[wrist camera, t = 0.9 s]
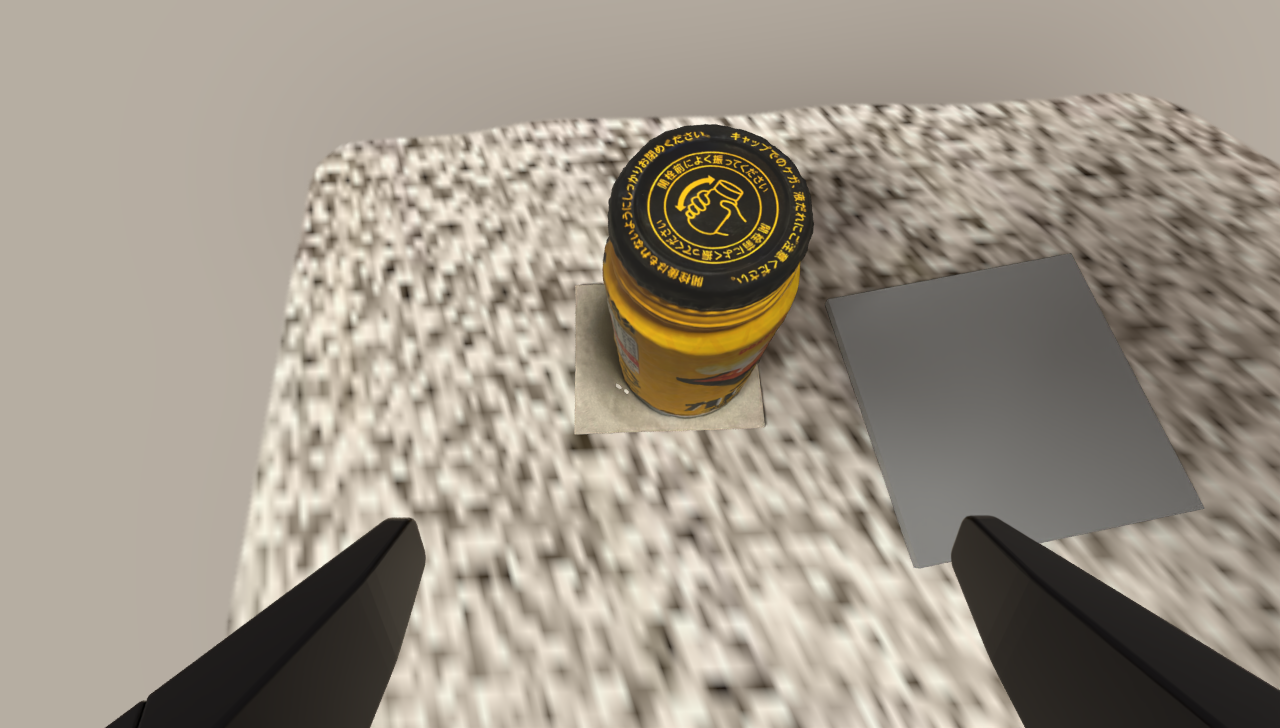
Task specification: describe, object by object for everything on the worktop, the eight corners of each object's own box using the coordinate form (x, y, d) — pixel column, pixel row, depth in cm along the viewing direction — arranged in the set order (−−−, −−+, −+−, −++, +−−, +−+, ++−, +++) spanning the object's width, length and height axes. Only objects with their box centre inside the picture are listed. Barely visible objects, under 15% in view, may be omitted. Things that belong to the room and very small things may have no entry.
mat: (1192, 509, 21) (1204, 508, 21) (914, 567, 21) (919, 568, 20) (1062, 258, 25) (1071, 253, 25) (824, 303, 25) (828, 299, 24)
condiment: (764, 428, 23) (872, 323, 12) (575, 435, 23) (497, 338, 12) (748, 281, 25) (825, 74, 14) (576, 288, 25) (512, 88, 14)
